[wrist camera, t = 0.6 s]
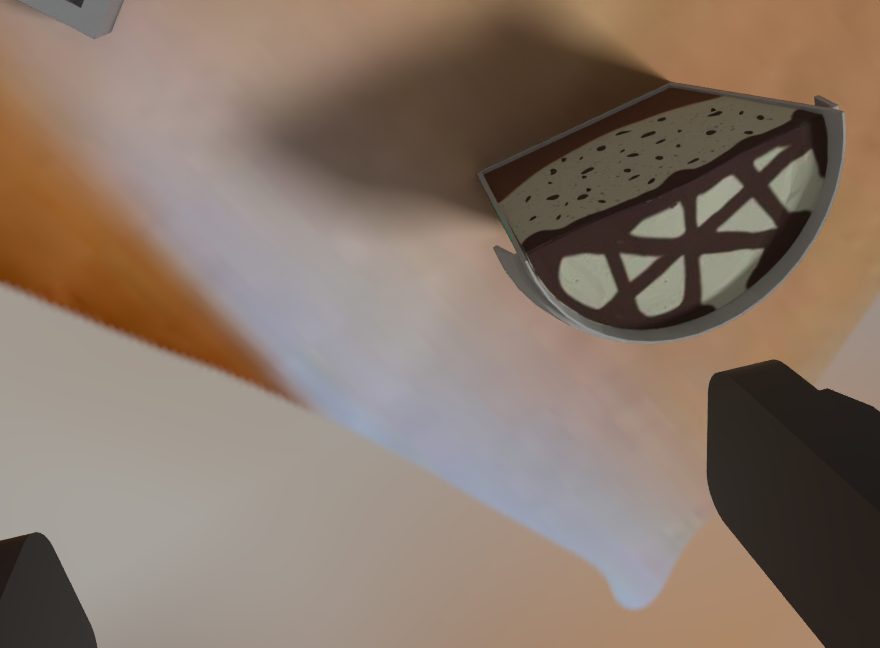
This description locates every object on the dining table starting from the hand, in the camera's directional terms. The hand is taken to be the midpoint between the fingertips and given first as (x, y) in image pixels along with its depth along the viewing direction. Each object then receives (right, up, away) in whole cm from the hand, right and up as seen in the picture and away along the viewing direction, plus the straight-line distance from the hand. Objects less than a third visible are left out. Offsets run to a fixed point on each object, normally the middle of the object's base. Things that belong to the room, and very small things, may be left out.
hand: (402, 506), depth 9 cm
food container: (+7, +8, +26) cm, 28 cm away
